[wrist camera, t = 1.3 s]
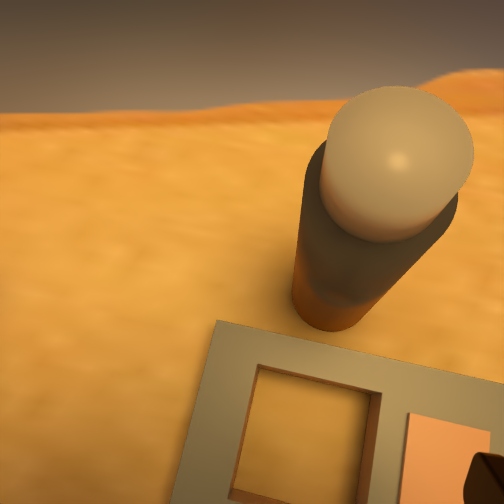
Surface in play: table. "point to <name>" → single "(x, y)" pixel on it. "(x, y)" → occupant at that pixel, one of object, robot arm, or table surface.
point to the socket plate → (378, 423)
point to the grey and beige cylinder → (376, 200)
